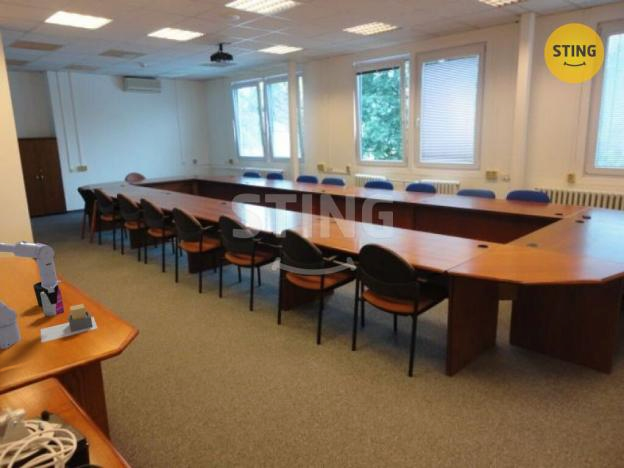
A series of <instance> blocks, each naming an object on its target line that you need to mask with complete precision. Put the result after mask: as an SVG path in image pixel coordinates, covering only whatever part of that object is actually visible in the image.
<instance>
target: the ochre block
mask: <svg viewBox="0 0 624 468" xmlns="http://www.w3.org/2000/svg"><path fill="white" fill-rule="evenodd" d="M84 305H85V304H84V303H80V304H75V305H71V306H69V309H70V315H72V319H73V321H74V320H78V319H83V318H86V313H85V311H86V308H85V306H84Z"/></svg>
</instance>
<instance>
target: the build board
mask: <svg viewBox="0 0 624 468" xmlns="http://www.w3.org/2000/svg"><path fill="white" fill-rule="evenodd" d="M91 320H92V325H93V327H89V328H85V329H81V330H77V331H73V332H71V329H70V325H69V322H65V323H62V324H58V325H54V326H49V327H44V328H40V342H41V344H42V343H45V342H49V341H53V340H57V339H60V338H65V337H69V336H72V335H76V334H81V333H85V332H88V331H93V330H97V329H98V325H97V323H96V321H95V317H94V316H91Z"/></svg>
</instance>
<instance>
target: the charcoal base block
mask: <svg viewBox="0 0 624 468" xmlns="http://www.w3.org/2000/svg"><path fill="white" fill-rule="evenodd" d="M85 313H86V318H83V319H78V320H74V321H73V319H72V315H71V314H69V315H67V320H68V323H69V325H70V329H71V332H73V331H77V330H81V329H85V328H89V327H93V325H92V320H91V317H92V316H91V314H90V311H89V310H85Z"/></svg>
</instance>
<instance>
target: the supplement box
mask: <svg viewBox="0 0 624 468" xmlns="http://www.w3.org/2000/svg"><path fill="white" fill-rule="evenodd" d="M40 294H41V300H42V305H43V306H42V309H43V311H42V312H43V315H44V317H45V318H47V317H48V318H49V317H53V316H56V315H61V314H63V313H65V310H64V309H65V308H64V303H63V298H62V292H61V289H60V288H59V290H58V293H57V304H52V305H51V303H50V301H49V299H48V297H47V295H46V294H45V293H44V292H41V293H40Z"/></svg>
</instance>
